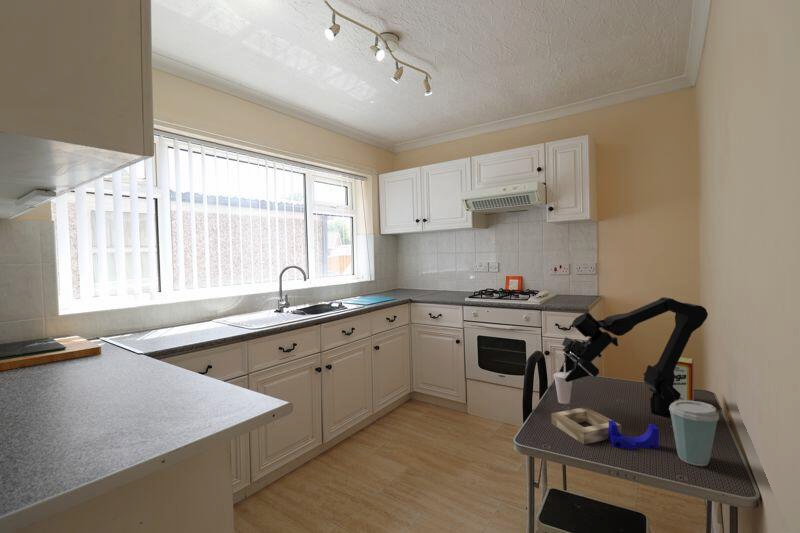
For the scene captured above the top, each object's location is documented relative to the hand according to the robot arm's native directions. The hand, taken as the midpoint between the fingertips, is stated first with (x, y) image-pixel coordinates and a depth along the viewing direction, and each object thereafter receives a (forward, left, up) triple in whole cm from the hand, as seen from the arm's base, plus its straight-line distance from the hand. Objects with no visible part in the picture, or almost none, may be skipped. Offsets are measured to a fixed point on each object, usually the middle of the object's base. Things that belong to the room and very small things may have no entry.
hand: (562, 377), depth 131 cm
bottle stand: (-10, +8, -12) cm, 18 cm away
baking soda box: (-26, -37, -13) cm, 47 cm away
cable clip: (-24, +8, -13) cm, 28 cm away
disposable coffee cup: (-37, +6, -13) cm, 40 cm away
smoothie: (0, 0, -9) cm, 9 cm away
